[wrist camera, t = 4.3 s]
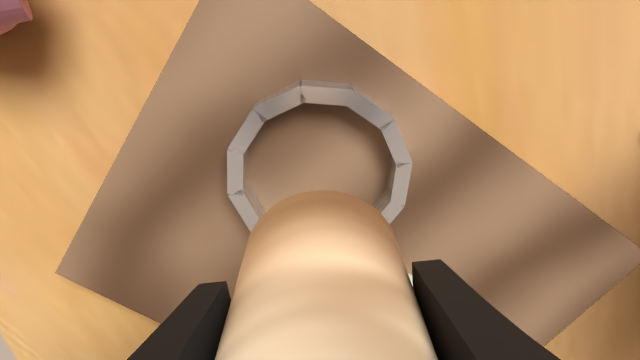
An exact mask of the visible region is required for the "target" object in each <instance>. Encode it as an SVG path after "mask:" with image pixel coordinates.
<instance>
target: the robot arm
mask: <svg viewBox="0 0 640 360" xmlns="http://www.w3.org/2000/svg"><path fill="white" fill-rule="evenodd" d="M412 282H413V289H414V292H415V295H416V298H417V301H418V304H419V306H420V309H421V312H422V315H423V318H424V321H425V324H426V327H427V329H428V332H429V335H430V338H431V341H432V344H433V347H434V350H435V352H436V355H437V358H438V360H560V359H559V358H558V357H556V356H555V355H554V354H552V353H551V352H550V351H548V350H547V349H546V348H544V347H543V346H542V345H540V344H539V343H538V342H536V341H535V340H534V339H532V338H531V337H530V336H529V335H527V334H526V333H525V332H524V331H522V330H521V329H520V328H519V327H517V326H516V325H515V324H514V323H513V322H511V321H510V320H509V319H508V318H507V317H505V316H504V315H503V314H502V313H501V312H499V311H498V310H497V309H496V308H495V307H493V306H492V305H491V304H490V303H489V302H488V301H486V300H485V299H484V298H483V297H482V296H481V295H480V294H479V293H477V292H476V291H475V290H474V289H473V288H472V287H471V286H470V285H468V284H467V283H466V282H465V281H464V280H463V279H462V278H461V277H460V276H459V275H458V274H456V273H455V272H454V271H453V270H452V269H451V268H450V267H449V266H448V265H447V264H446V263H444V262H443V261H442V260H441V259H436V260H427V261H417V262H412ZM230 303H231V298H230V293H229V289H228V285H227V281H221V282H211V283H201V284H198V285H197V286H196V287H195V288H194V289H193V290H192V291H191V292H190V294H189V295H188V296H187V297H186V298H185V299H184V300H183V301H182V302H181V303H180V304H179V305H178V306H177V308H176V309H175V310H174V311H173V312H172V313H171V314H170V315H169V316H168V317H167V318H166V319H165V320H164V322H163V323H162V324H161V325H160V326H159V327H158V328H157V329H156V330H155V331H154V332H153V333H152V334H151V335H150V336H149V337H148V338H147V339H146V341H145V342H144V343H143V344H142V345H141V346H140V347H139V348H138V349H137V350H136V351H135V352H134V353H133V354H132V355H131V356H130V357H129V358H128V359H127V360H215V357H216V353H217V350H218V346H219V343H220V339H221V335H222V332H223V328H224V325H225V321H226V318H227V314H228V310H229V307H230Z"/></svg>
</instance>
